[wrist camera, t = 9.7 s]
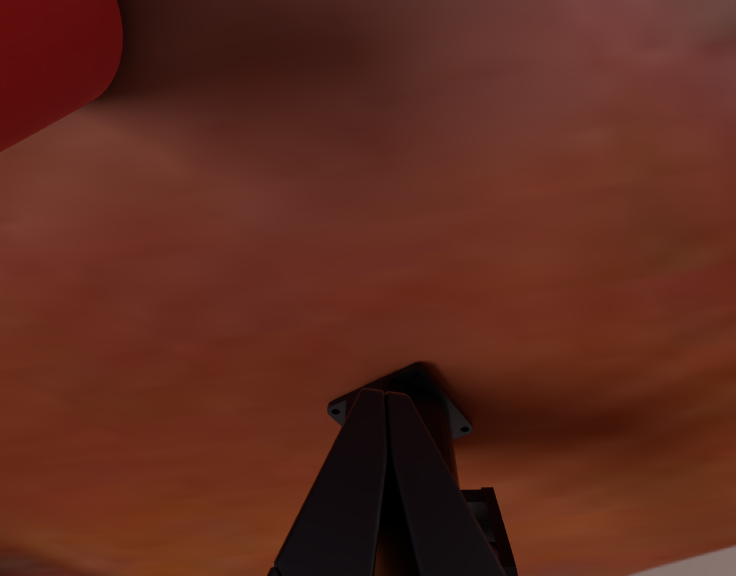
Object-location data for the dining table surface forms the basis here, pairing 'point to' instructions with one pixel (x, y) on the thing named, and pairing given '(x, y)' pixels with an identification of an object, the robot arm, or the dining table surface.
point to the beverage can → (54, 60)
